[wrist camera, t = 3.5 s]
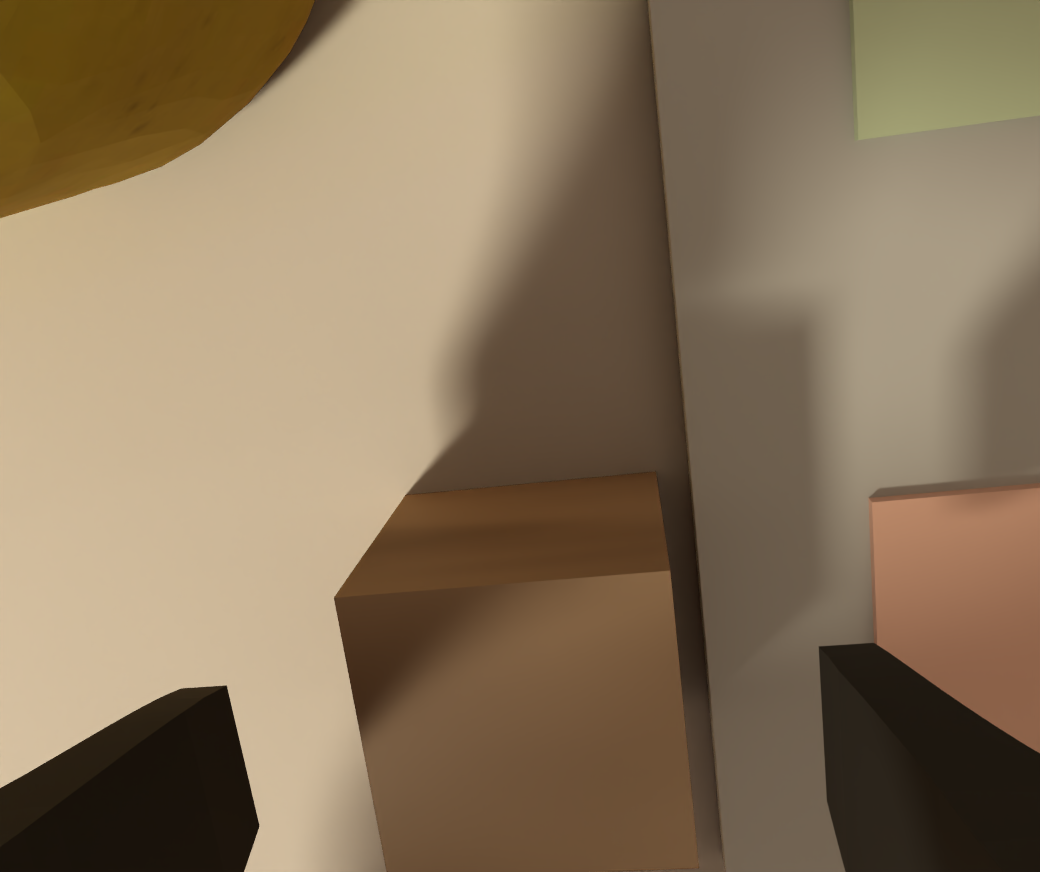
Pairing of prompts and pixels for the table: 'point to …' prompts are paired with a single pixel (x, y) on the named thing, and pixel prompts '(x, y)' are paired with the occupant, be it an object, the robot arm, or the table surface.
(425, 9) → the table surface
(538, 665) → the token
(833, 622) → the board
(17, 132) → the mug
